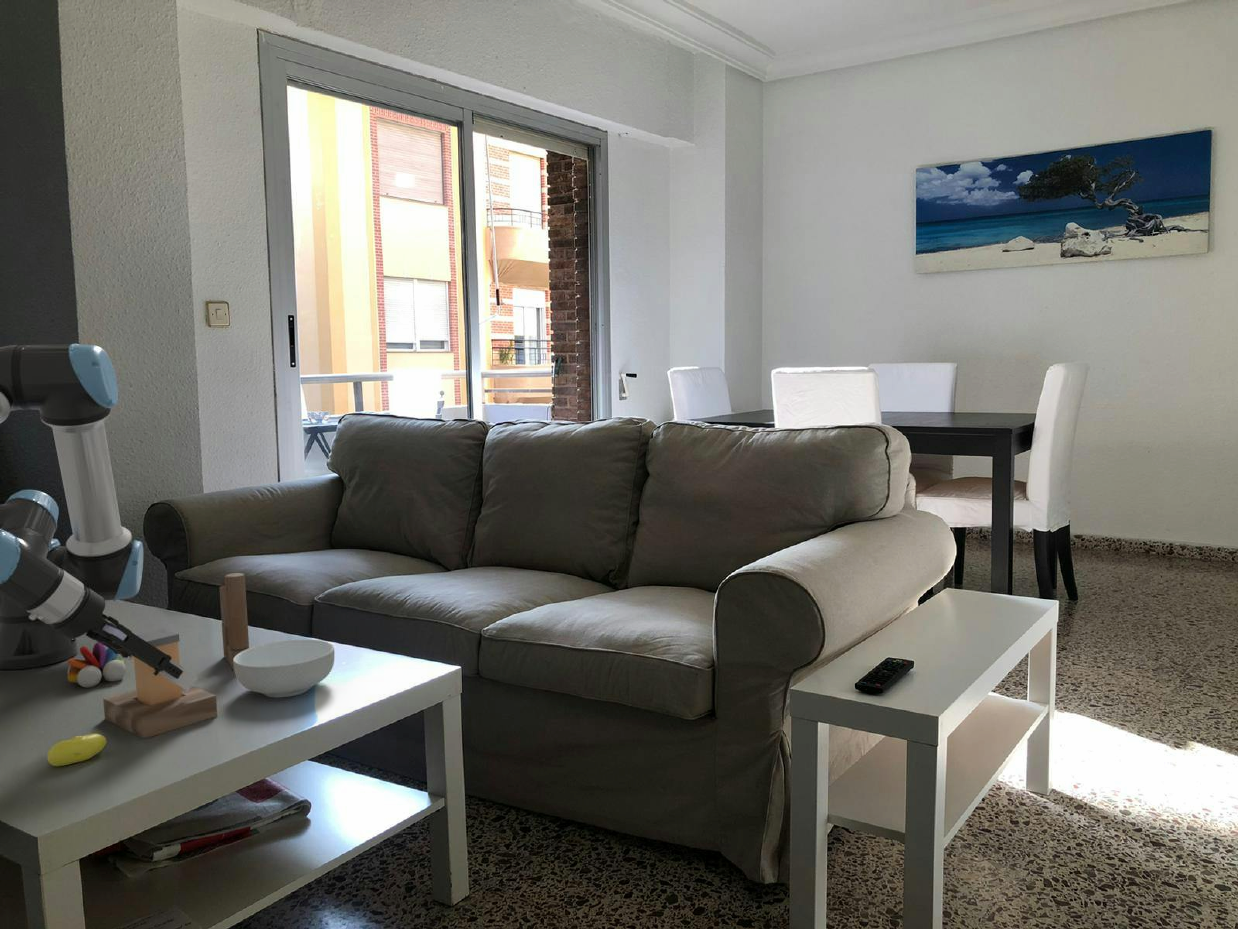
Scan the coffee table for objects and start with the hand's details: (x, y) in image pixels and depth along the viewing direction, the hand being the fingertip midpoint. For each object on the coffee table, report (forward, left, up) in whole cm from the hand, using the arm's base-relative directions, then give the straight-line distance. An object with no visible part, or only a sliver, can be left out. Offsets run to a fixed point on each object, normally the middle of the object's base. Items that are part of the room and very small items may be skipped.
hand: (177, 678), depth 161 cm
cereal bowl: (+9, +15, -6) cm, 19 cm away
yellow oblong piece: (+2, -20, -6) cm, 21 cm away
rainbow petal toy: (-28, +6, -6) cm, 29 cm away
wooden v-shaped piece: (-12, +24, -6) cm, 27 cm away
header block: (-1, -3, -6) cm, 7 cm away
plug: (-1, -3, -6) cm, 7 cm away
